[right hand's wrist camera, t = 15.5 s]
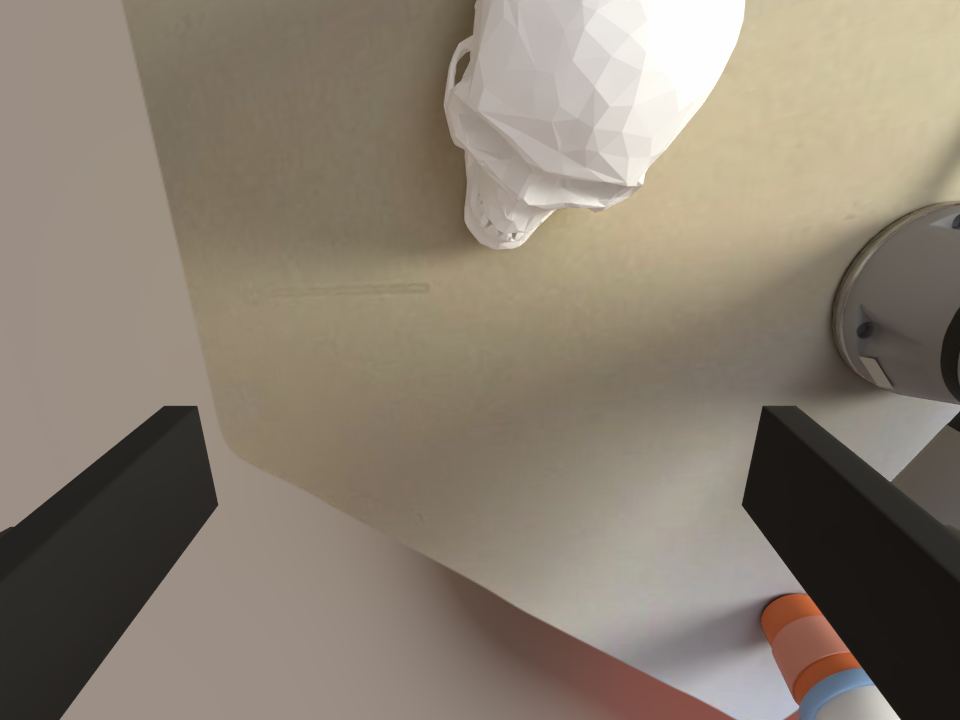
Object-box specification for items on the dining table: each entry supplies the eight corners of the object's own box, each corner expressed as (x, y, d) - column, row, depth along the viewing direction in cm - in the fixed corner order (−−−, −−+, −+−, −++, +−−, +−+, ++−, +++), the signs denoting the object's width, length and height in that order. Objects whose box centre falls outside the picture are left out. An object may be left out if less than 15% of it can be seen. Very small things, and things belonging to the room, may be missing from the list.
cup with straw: (730, 639, 56) (840, 848, 39) (769, 573, 53) (907, 770, 36) (809, 654, 57) (948, 864, 40) (852, 590, 54) (1022, 790, 37)
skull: (410, 216, 40) (385, 261, 25) (520, -137, 32) (576, -366, 18) (573, 276, 42) (637, 349, 27) (711, -41, 35) (901, -173, 20)
